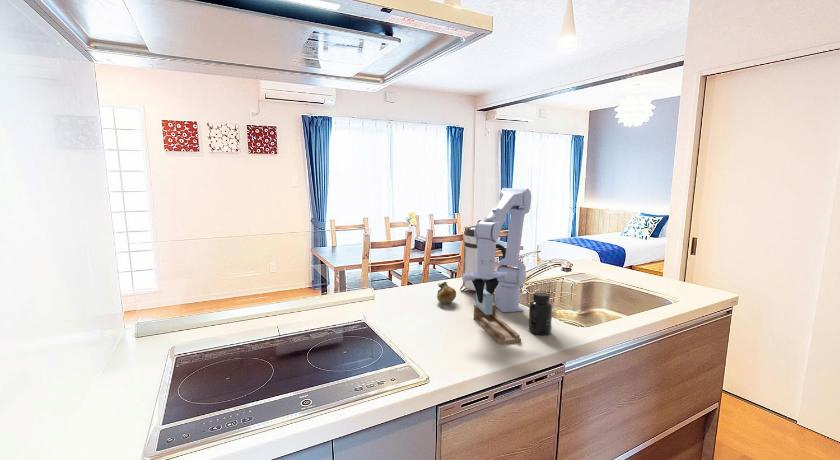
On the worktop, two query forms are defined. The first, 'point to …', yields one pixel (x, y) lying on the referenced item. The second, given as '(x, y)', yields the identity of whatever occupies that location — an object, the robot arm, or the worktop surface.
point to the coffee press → (473, 256)
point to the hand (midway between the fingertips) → (484, 301)
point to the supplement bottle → (540, 314)
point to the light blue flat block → (485, 303)
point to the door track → (496, 326)
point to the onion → (445, 293)
